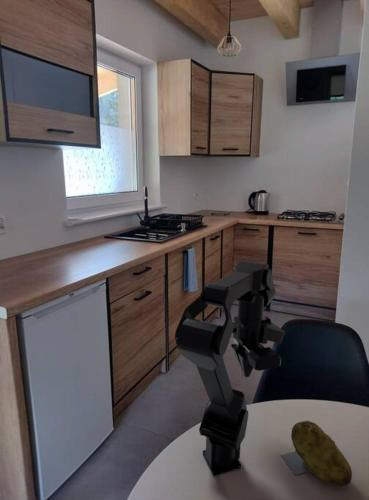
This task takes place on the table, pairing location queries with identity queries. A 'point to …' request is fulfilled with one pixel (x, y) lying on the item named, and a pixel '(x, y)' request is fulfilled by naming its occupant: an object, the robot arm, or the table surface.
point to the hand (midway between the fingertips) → (246, 376)
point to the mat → (295, 463)
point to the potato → (320, 454)
